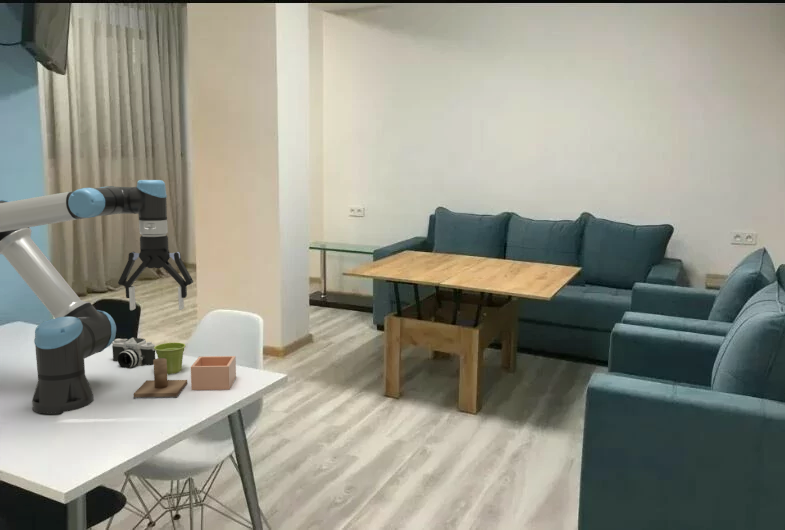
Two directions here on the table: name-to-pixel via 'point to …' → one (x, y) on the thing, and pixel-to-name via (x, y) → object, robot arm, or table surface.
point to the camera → (133, 352)
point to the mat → (163, 397)
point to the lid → (160, 383)
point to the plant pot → (171, 355)
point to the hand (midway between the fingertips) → (157, 309)
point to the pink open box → (213, 373)
